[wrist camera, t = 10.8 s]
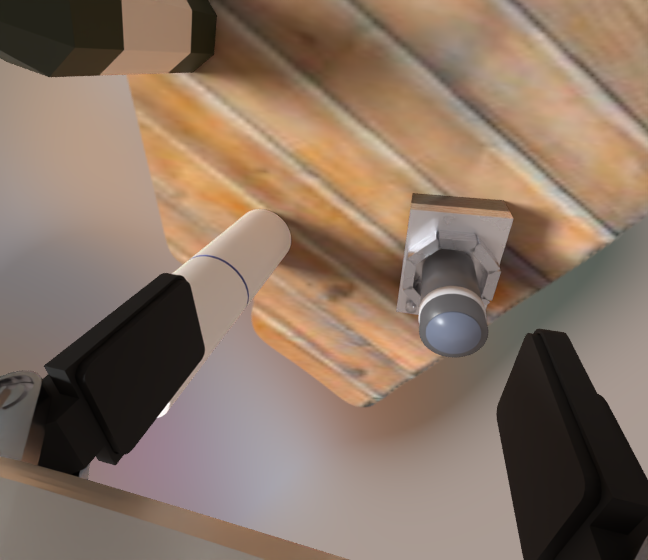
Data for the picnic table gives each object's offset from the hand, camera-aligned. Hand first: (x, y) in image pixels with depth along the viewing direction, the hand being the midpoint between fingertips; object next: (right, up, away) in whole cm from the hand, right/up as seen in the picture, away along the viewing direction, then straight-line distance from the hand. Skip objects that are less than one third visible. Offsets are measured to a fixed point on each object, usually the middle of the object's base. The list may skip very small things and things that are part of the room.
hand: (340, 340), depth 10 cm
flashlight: (+12, +3, +25) cm, 28 cm away
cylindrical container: (-8, +7, +35) cm, 36 cm away
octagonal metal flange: (+13, +5, +29) cm, 33 cm away
